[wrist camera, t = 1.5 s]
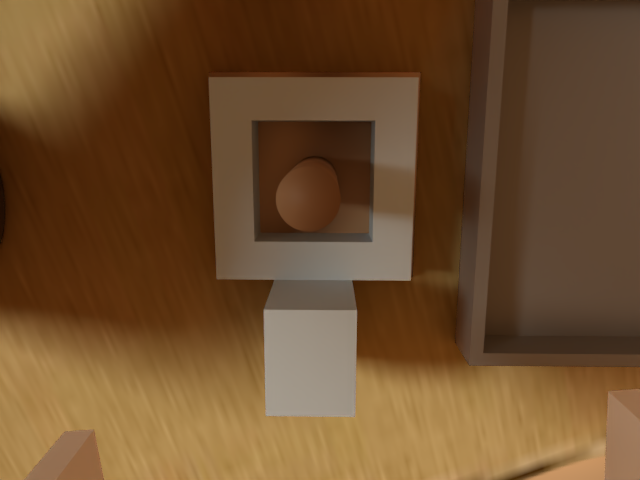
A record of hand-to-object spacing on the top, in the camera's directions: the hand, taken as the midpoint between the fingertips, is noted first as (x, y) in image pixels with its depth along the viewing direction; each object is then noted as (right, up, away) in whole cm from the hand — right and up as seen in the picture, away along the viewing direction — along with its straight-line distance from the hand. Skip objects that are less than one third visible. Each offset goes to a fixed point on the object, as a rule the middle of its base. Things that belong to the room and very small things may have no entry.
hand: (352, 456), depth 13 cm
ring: (-1, +6, +15) cm, 16 cm away
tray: (+17, +9, +15) cm, 24 cm away
